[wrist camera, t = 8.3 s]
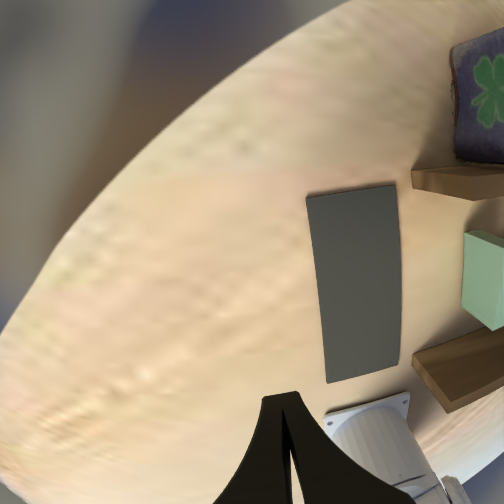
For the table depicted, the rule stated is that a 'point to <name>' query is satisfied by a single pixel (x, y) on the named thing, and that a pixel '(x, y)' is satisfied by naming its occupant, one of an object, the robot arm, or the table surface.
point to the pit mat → (357, 279)
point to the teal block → (484, 278)
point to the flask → (479, 99)
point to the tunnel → (478, 342)
